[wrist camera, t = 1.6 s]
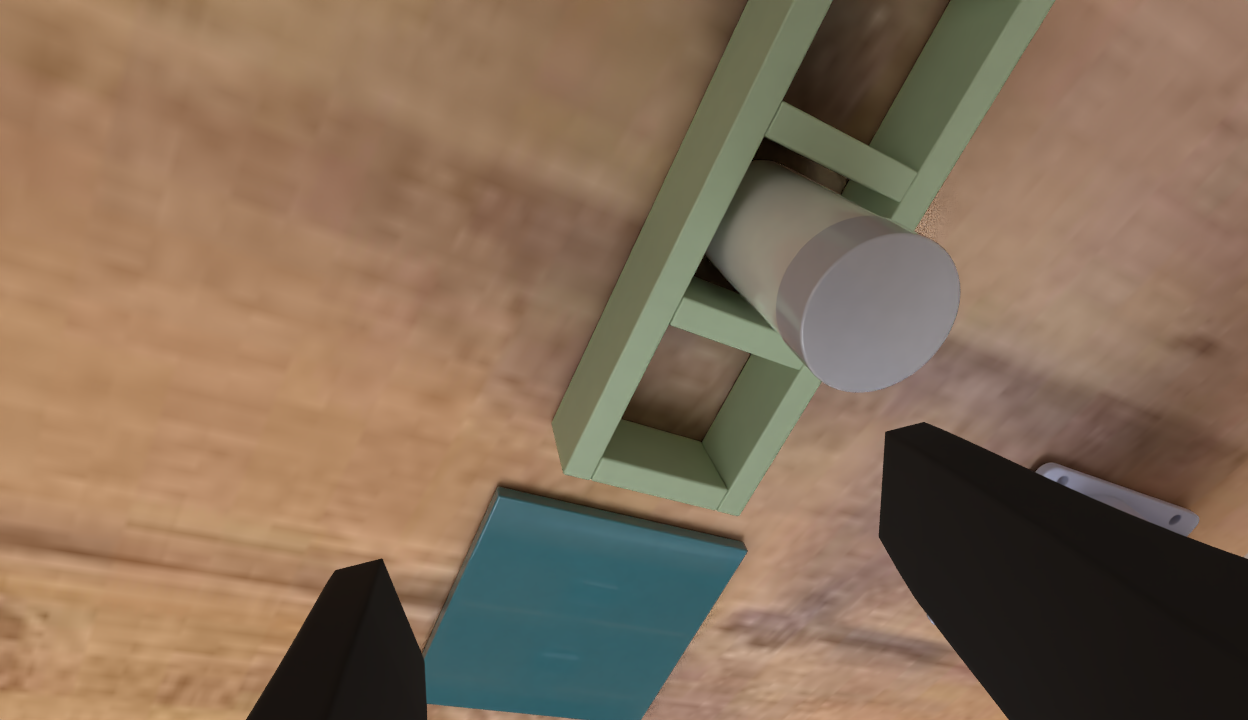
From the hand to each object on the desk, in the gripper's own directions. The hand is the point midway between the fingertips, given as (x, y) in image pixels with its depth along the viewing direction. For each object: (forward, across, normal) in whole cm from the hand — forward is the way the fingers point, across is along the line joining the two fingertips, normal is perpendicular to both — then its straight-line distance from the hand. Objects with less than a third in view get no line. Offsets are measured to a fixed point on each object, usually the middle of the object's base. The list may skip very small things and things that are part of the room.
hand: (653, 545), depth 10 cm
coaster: (+10, +2, +12) cm, 16 cm away
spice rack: (+10, -6, -1) cm, 11 cm away
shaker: (+10, -6, -1) cm, 11 cm away
